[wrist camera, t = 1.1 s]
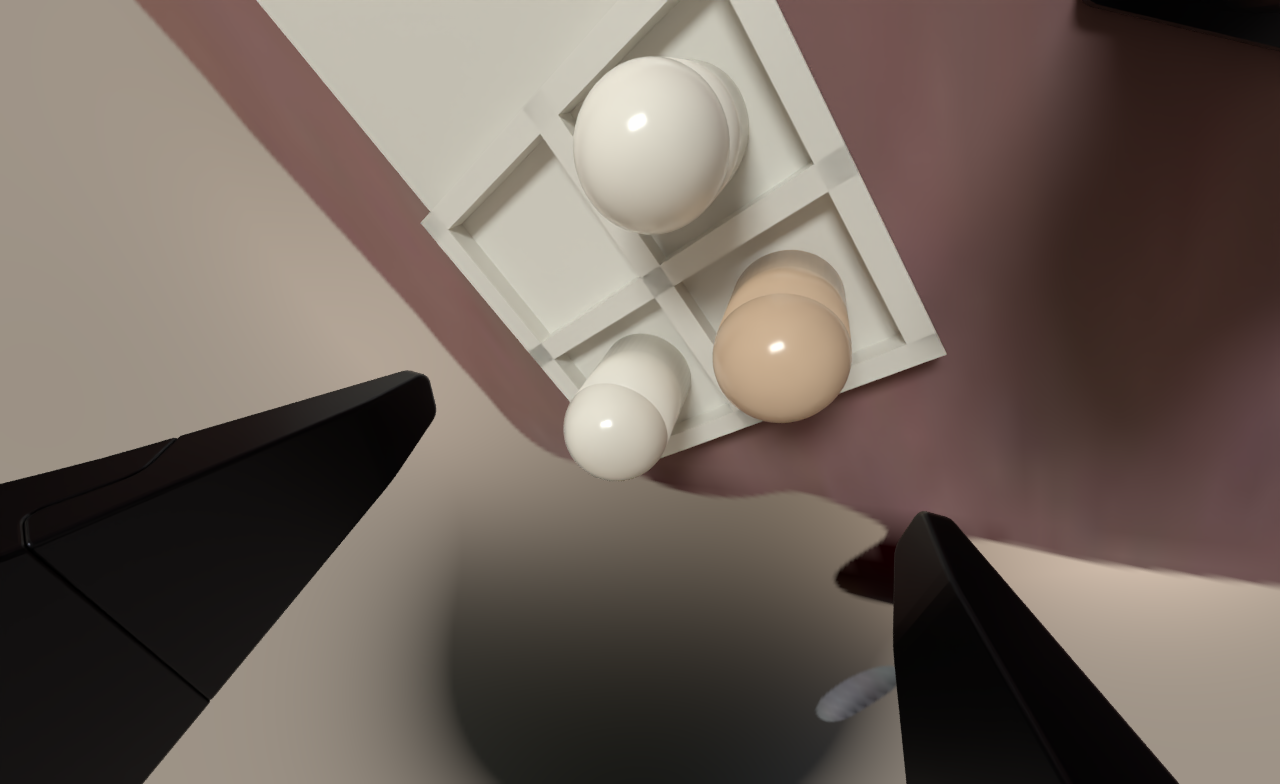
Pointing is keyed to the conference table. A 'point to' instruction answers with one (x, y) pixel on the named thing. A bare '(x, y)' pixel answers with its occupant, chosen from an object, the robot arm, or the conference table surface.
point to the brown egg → (784, 338)
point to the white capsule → (627, 408)
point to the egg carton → (555, 201)
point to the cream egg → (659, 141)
